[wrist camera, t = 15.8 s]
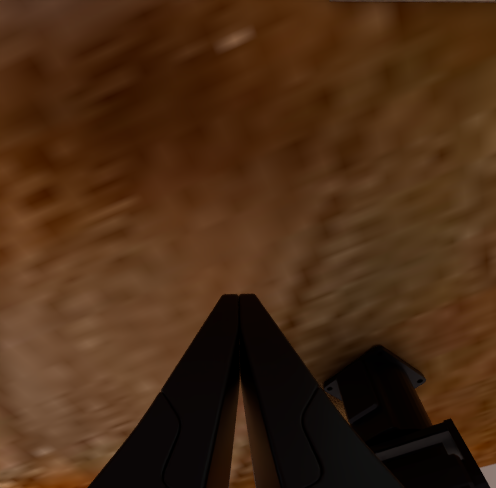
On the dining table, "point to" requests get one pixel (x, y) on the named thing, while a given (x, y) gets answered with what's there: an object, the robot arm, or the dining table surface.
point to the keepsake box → (417, 0)
